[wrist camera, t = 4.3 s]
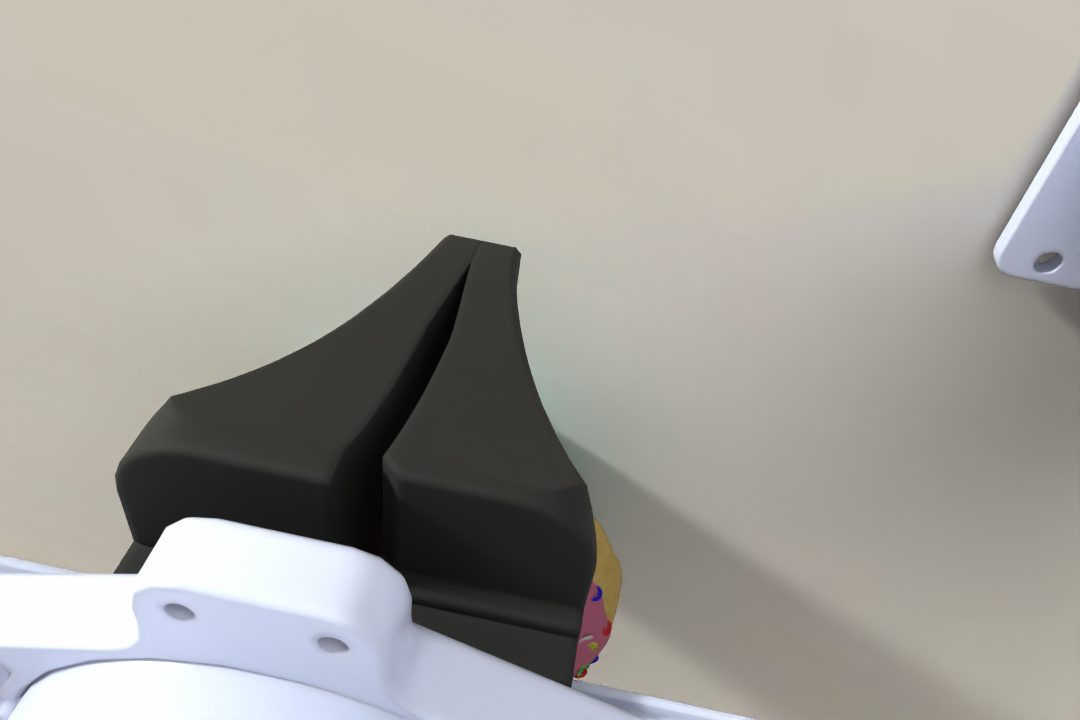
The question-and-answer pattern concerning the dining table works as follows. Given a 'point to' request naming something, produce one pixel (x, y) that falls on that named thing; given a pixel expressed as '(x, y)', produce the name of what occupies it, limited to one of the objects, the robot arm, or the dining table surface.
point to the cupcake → (599, 605)
